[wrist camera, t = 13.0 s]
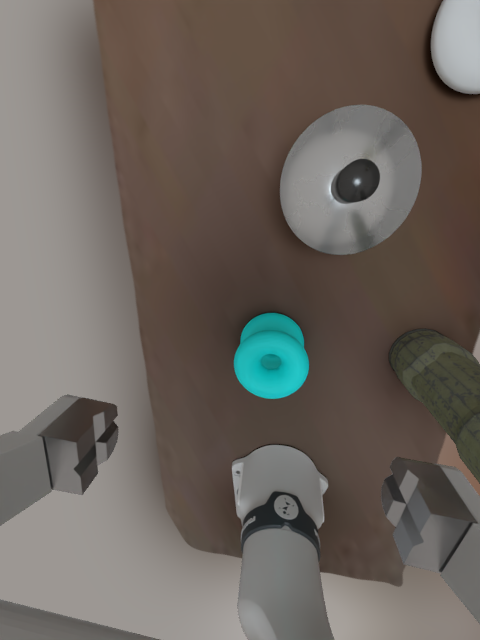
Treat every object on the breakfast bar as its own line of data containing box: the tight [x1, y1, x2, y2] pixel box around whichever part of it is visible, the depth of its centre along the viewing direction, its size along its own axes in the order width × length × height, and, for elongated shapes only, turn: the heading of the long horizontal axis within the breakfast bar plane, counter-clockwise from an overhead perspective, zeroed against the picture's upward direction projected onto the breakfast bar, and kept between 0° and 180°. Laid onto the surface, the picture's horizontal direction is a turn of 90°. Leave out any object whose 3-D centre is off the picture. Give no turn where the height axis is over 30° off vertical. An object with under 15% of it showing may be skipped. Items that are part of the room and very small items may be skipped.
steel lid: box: [280, 105, 421, 255], centre depth 25 cm, size 13×13×5 cm
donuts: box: [234, 313, 309, 399], centre depth 40 cm, size 10×10×10 cm
